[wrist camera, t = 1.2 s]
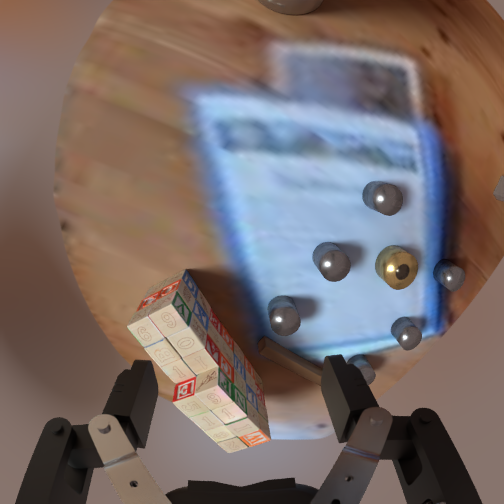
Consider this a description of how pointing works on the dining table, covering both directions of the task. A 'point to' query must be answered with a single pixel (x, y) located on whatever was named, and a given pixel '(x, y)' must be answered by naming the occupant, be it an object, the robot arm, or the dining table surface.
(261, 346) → the bar
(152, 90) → the dining table surface
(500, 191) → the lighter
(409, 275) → the gold short domed cylinder
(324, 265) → the spacers
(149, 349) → the stack of blocks
